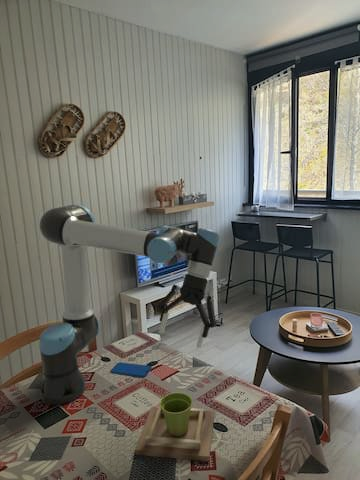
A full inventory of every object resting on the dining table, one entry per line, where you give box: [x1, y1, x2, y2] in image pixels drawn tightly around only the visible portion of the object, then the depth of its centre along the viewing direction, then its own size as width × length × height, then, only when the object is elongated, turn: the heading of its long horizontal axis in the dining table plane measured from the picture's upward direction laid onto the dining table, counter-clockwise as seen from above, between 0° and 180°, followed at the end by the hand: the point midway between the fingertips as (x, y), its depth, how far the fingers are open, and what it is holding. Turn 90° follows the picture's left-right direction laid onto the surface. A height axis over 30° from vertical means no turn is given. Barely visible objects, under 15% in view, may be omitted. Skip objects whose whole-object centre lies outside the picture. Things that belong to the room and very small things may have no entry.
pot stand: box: [134, 405, 215, 462], centre depth 103 cm, size 20×18×4 cm
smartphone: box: [109, 361, 153, 378], centre depth 138 cm, size 7×1×15 cm
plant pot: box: [159, 392, 194, 436], centre depth 102 cm, size 9×9×9 cm
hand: (179, 339), depth 115 cm, fingers open, 13 cm apart
